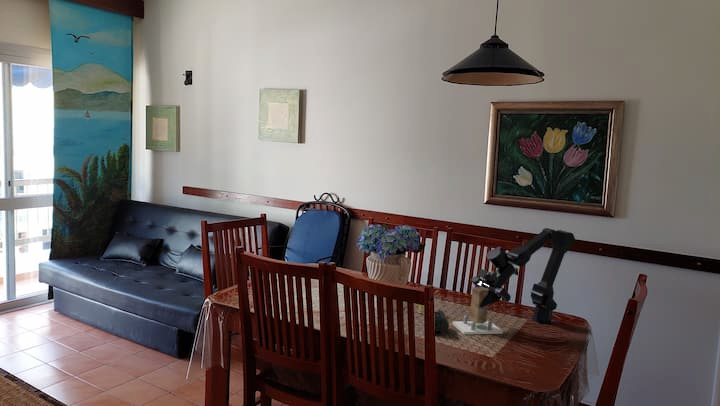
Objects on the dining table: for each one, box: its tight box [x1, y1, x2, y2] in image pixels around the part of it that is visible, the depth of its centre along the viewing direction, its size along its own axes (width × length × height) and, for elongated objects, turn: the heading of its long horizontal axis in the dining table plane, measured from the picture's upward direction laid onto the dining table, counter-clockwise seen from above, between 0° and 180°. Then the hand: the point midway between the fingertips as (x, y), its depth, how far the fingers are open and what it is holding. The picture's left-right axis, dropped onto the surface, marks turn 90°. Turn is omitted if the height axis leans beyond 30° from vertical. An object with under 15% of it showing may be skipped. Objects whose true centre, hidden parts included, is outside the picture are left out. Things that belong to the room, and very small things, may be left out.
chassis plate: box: [452, 314, 504, 335], centre depth 197 cm, size 16×11×4 cm
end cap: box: [433, 309, 450, 336], centre depth 192 cm, size 10×7×7 cm
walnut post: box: [469, 286, 489, 323], centre depth 196 cm, size 4×4×13 cm
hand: (476, 304), depth 195 cm, fingers closed on walnut post, 4 cm apart
